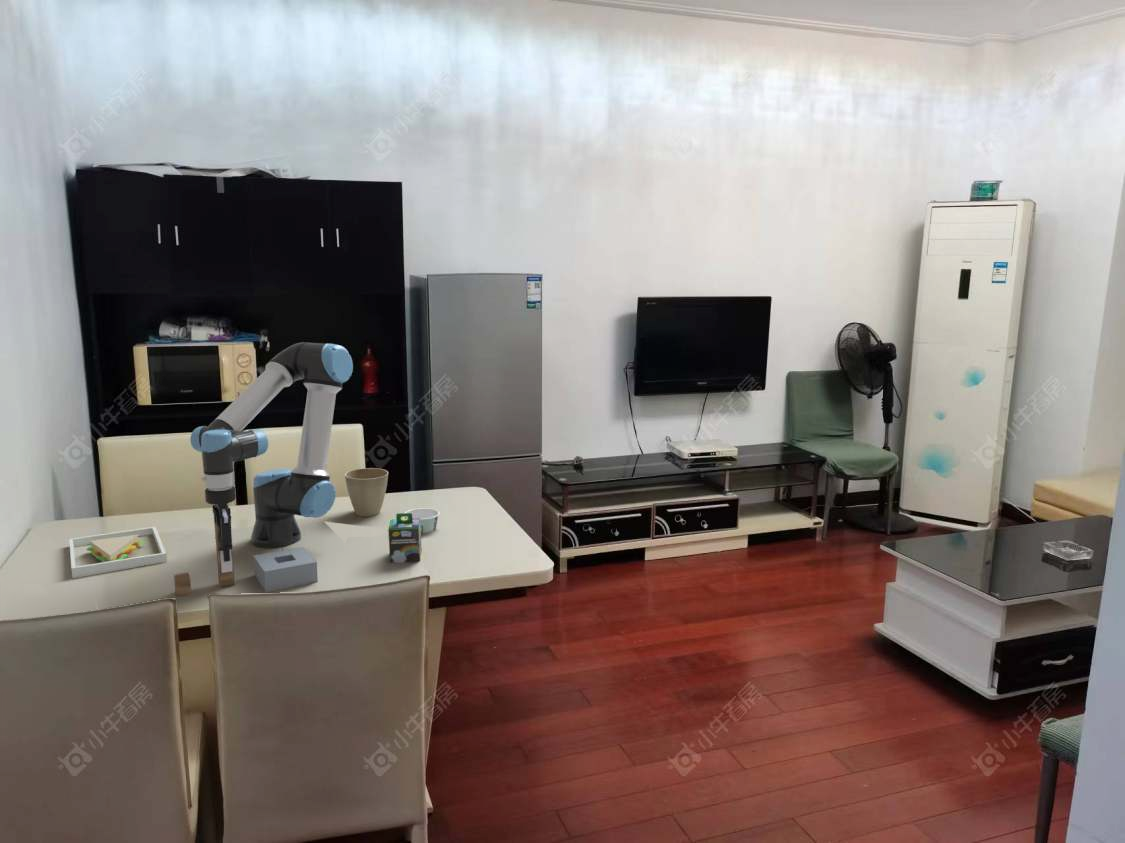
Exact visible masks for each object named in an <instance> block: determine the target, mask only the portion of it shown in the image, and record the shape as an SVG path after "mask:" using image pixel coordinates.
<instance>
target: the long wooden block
mask: <svg viewBox="0 0 1125 843" xmlns="http://www.w3.org/2000/svg"><path fill="white" fill-rule="evenodd" d="M213 524H215V525H214V533H215V534H214V535H215V536H214V538H215V537H216V539H215V548H216V561H217V562H216V563H217V572H218V573H217V575H218V576H217V577H218V584H219V586H220V588H221V589H224V588H229V587H233V585H234V586H235V571H234V557H233V556H234V554H233V548H232V549H231V555H232V569H233V571H231V572H225V573H222V571H221V557H220V551H218V549H219V548H221V544H220V534H219V526H218V525H217V524H216V522H214V521H213ZM228 586H229V587H228Z"/></svg>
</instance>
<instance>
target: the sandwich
mask: <svg viewBox="0 0 1125 843" xmlns="http://www.w3.org/2000/svg"><path fill="white" fill-rule="evenodd" d="M139 537H140V536H139ZM139 537H138V535H131V536H123V537H116V538H108V539H100V540H93V541H90V544H89V546H87V548H86V551H88V552H90V553H91V555H93V556H94V557H95V558H96V559H98V560H99V561H100V562H101V563H102V562H108V561H115V560H121V559H127V558H129V556H131V555H132V554H133V553H135V552H136V551H137V550H138V549H140V546H141V545H143V544H145V542H142V541H141V542H140V540H139V539H140V538H139ZM135 550H136V551H135Z"/></svg>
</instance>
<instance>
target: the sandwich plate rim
mask: <svg viewBox="0 0 1125 843" xmlns="http://www.w3.org/2000/svg"><path fill="white" fill-rule="evenodd" d="M150 534H151V535H152V536H153V538H155V539H154V540H155V544H156V546H157V549H158V552H159V553H153V554H147V555H141V556H134V557H127V558H126V559H121V560H115V561H108V562H102V561H101V562H97V563H91V564H85V565H84V564H83V565H78V566H76V555H75V547H80V546H81V547H82V546H88V545H89V546H90V541H93V540H100V539H108V538H116V537H123V536H131V535H138V536H139V537H143V536H144V535H145V536H150ZM145 536H144V537H145ZM68 540H69V541H68V542H69V552H70V567H71V576H72V579H79V578H83V577H88V576H94V575H99V574H100V575H101V574H105V573H111V572H117V571H122V570H129V569H133V568H138V567H139V566H140V567H145V566H144V565H146V566H151V565H155V564H156V565H157V564H162V563H168V558H167V552H166V549H165V547H164V545H163V542H162V540H161V536H160V534H159V532H158V529H157V528H156V526H150V527H142V528H136V529H130V530H123V531H115V532H109V533H102V534H101V533H100V534H94V535H88V536H87V535H86V536H80V537H79V536H78V537H73V538H69V539H68ZM150 564H151V565H150Z"/></svg>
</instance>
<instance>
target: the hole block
mask: <svg viewBox="0 0 1125 843" xmlns="http://www.w3.org/2000/svg"><path fill="white" fill-rule="evenodd" d="M253 567H254V569H253V571H254V576H255V577H256V579H257V581H258V583H259V584H260V586H261V588H262V589H263V590H264V592H265V593H270V592H274V591H279V590H284V588H285V589H288V588H289V589H290V588H294V587H299V586H304V585H308V584H309V585H310V584H314V583H317V582H319V580H318V577H319V576H318V562H317V560H315V558H314V557H313V556H312V555H311V554H310V553H309V552H308V551H307V550H306V548H305V547H303V546H302V547H296V548H291V549H286V550H279V551H273V552H267V553H261V554H255V555H253Z"/></svg>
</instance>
